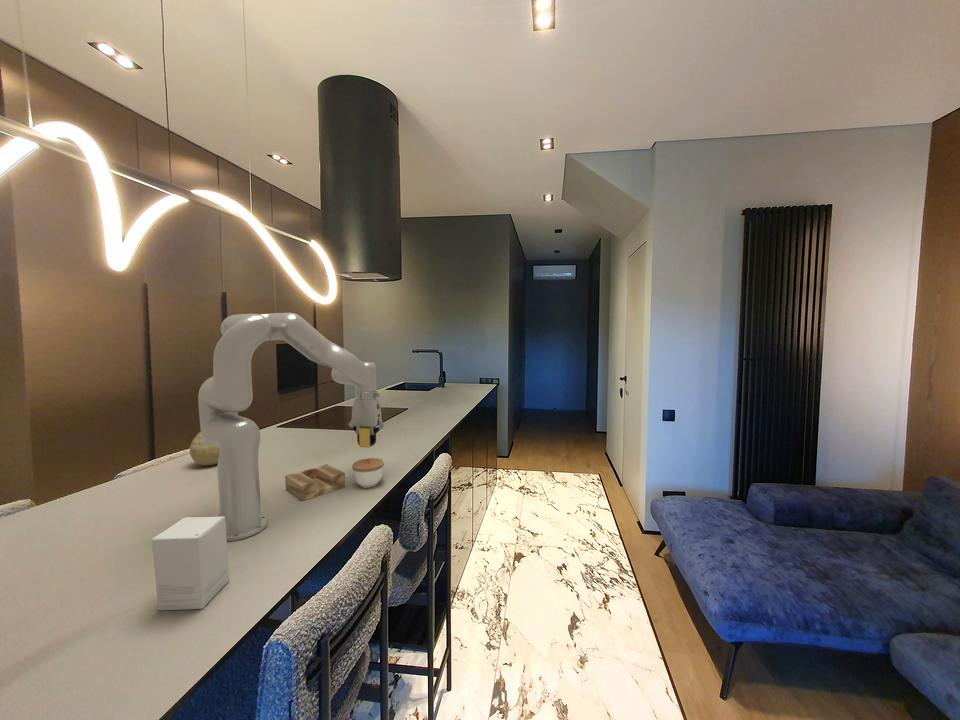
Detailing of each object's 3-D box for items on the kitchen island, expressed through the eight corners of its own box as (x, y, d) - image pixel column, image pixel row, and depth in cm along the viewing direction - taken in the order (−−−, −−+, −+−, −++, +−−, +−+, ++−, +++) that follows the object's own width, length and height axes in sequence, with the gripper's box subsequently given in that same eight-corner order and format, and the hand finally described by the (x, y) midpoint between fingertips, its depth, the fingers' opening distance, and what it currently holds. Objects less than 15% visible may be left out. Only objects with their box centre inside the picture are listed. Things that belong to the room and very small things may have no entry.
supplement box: (231, 579, 83) (227, 515, 82) (203, 610, 74) (198, 537, 73) (189, 580, 83) (184, 515, 82) (155, 611, 74) (150, 538, 73)
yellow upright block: (369, 447, 138) (369, 429, 137) (359, 447, 138) (359, 428, 138) (374, 444, 142) (374, 426, 141) (364, 443, 142) (364, 425, 142)
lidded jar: (346, 487, 132) (345, 461, 131) (368, 476, 142) (367, 452, 141) (369, 493, 127) (368, 466, 126) (390, 481, 137) (389, 456, 136)
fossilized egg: (200, 472, 145) (197, 434, 144) (184, 466, 152) (182, 430, 150) (235, 462, 156) (233, 427, 155) (219, 457, 163) (217, 423, 161)
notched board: (302, 501, 121) (301, 486, 121) (285, 489, 130) (285, 475, 129) (345, 486, 132) (345, 472, 132) (327, 476, 141) (327, 463, 141)
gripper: (391, 394, 141) (392, 442, 142) (350, 393, 144) (351, 440, 145) (382, 398, 134) (383, 448, 135) (339, 396, 136) (340, 446, 138)
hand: (366, 443), depth 140 cm, fingers closed on yellow upright block, 4 cm apart
